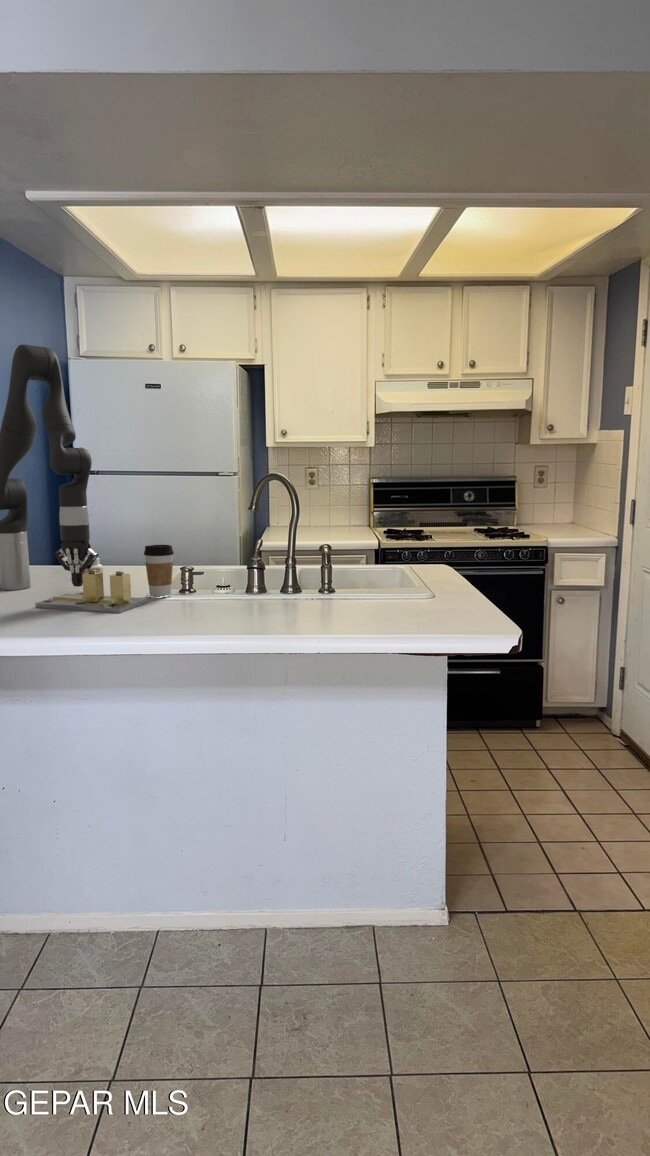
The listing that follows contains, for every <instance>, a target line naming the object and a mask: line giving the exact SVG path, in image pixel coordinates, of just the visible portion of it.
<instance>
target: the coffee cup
mask: <svg viewBox="0 0 650 1156" xmlns="http://www.w3.org/2000/svg"><path fill="white" fill-rule="evenodd" d="M174 554H175V553H174V549H173V547H172V545H171V544H151V545H150V544H149V545H145V546H144V552H143V556H145V563H144V564H145V567H146V569H145V570H146V575H147V576H146V577H147V582H148V591H149V596H153V597H160V596H165V595H170V594H171V595H172V583H173V581H172V580H173V565H174V561H173V555H174Z"/></svg>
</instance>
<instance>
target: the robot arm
mask: <svg viewBox="0 0 650 1156" xmlns="http://www.w3.org/2000/svg"><path fill="white" fill-rule="evenodd" d="M12 356H13V357H12V361H11V362H12V363H11V369H10V376H9V377H10V378H9V386H8V394H7V400H6V405H5V409H4V412H3V417H2V420H1V426H0V511H5V510H8V513H7V514H6V516H5V517H3V518H2V519H0V590H4V591H5V590H6V591H15V590H25V589H27V588H31V573H30V572H31V571H30V559H29V558H30V557H29V545H28V543H29V542H28V531H27V526H28V522H29V519H28V518H29V517H28V514H29V513H28V492H27V491H28V490H27V487H26V484H25V482H24V481H23V480H22V479H20V478H9V477H10V475H11V473H12V471H13V469H14V468H15V467H16V466H17V465H18V464H19V463H20V462H21V461H22V460H23V459H24V457H25V456H26V455H27V454H28V453H29V452H30V450H31V448H32V446H33V444H34V441H35V437H36V432H37V427H38V423H37V420H36V416H35V414H34V411H33V409H32V407H31V405H30V402H29V401H28V395H27V389H28V383H29V381H30V380H31V381H37V382H45V384H46V386H47V389H48V393H47V394H48V395H47V397H46V400H45V403H44V406H43V407H42V414H41V415H42V421H43V426H44V429H45V432H46V434H47V437H48V442H49V443H48V445H49V466H50V468H51V470H52V471H53V472H54V473H55V474H57V475H58V476H59V475H60V476H65V475H66V476H68V475H69V476H70V475H74V477H73V479H72V481H70V482H68V483H64V484H61V485H59V488H58V498H59V499H58V501H59V517H58V518H59V532H60V533H59V534H60V540H61V545H60V549H59V550H58V551H55V552H54V553H53V555H54V557H55V558H56V559H57V561H58V562H59V564H60V565H61V566H62V568H63V570H64V571H68V572H70V574H71V576H70V577H71V583H72V585H73V587H74V588H75V587H77V588H79V587H83V579H82V574H83V573H84V571H86V570H89V569H90V568H91V566H92V565H93V563H94V562H95V560H96V559H97V558H99V552H95V551H94V550H93V549H92V548H91V547H92V545H91V543H90V538H91V535H90V533H91V532H90V515H89V510H88V500H87V497H88V496H87V490H88V489H87V488H88V483H89V478H90V474H91V469H92V456H91V453H89V451H88V450H87V449H86V448H84V447H66V446H69V445H72V444H73V443H74V442H75V440H76V438H77V436H76V431H75V428H74V425H73V422H72V418H71V417H70V414H69V410H68V406H67V402H66V396H65V391H64V389H65V388H64V382H63V376H62V371H61V366H60V365H61V364H60V361H59V358H58V356H57V354H56V352H55V350H53V349H52V348H50V347H46V346H37V345H32V344H20V345H18V346H16V348H15V351H14V353H13V355H12ZM86 558H87V560H86Z"/></svg>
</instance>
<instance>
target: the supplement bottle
mask: <svg viewBox="0 0 650 1156" xmlns="http://www.w3.org/2000/svg"><path fill="white" fill-rule="evenodd" d="M87 558H88V557H86V560H87ZM103 569H104V568H103V564H101V563H100V557H97V559H96V560H95V562H94V563H93V565H92V566H91V568H90V569H89V570H96V572H101V573H103V574H104V572H103ZM89 570H86V571H84V573H88V572H89ZM84 573H83V574H84ZM103 588H104V585H103Z"/></svg>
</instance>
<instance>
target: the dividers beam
mask: <svg viewBox="0 0 650 1156" xmlns="http://www.w3.org/2000/svg"><path fill="white" fill-rule="evenodd" d="M124 572H125V571H123V570H122V571H121V570H119V571H117V570H116V571H115V573H114V574H110V575H109V587H110V588H109V591H110V596H111V598H110V599H102V598H98V601H94V602H110V603H111V605H115V603H126V604H130V603H133V600H127V599H130V598H131V597H132V591H131V590H132V589H131V587H132V585H131V573H124ZM52 598H53V599H63V600H78V601H84V600H82V597H70V596H60V595H54V596H52Z"/></svg>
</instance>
